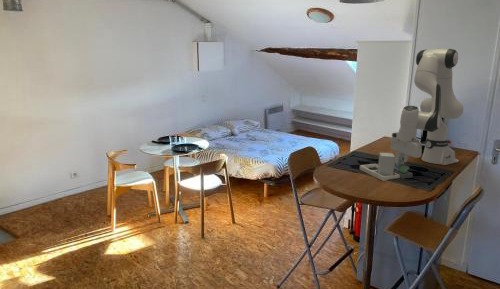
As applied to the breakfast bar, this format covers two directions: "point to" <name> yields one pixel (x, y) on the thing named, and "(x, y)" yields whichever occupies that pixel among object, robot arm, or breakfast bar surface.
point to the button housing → (402, 176)
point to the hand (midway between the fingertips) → (403, 161)
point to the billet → (398, 160)
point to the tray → (398, 168)
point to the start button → (403, 169)
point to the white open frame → (375, 172)
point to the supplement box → (386, 164)
